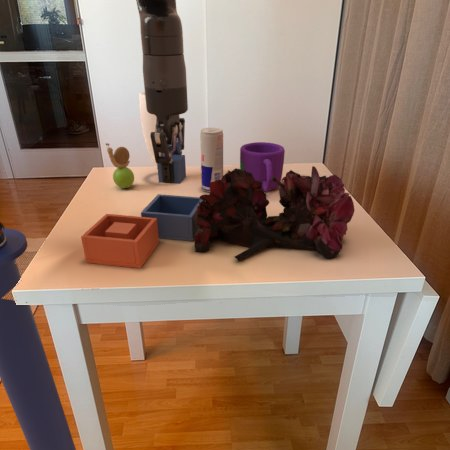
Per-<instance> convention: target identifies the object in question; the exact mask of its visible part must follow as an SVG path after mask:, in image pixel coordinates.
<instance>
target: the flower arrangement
mask: <svg viewBox="0 0 450 450" xmlns="http://www.w3.org/2000/svg"><path fill="white" fill-rule="evenodd" d="M311 166H312V167H311V176H310V175H302V174H300V173H298V172H295V171H293V170H292V169H290V170H289V171H287V172H286V173H285V176H284V177H282V178H281V181H280V180H279V179H278V178H276V177H272V181H273V182H276V183H277V185H278V195H279V200H278V202H279V204H280V205H281V206H282V207H283V209H282V212H279V214H278V215H271V216H270V215H269V216H268V212H267V211H268V210H267V206H269V205H270V201H269V199H268V198H267V194H266V192H265V191H263V190H261V187H262V182H261V181H259V180H258V181H255V179H254V177H253V175H252V173H249V172H246V171H245V170H242V169H240V168H237V167H235V168H234V169H232V170H227V173H225V174H223V177H222V179H221V180H216V181H214V182H210V183H209V187H210V192H209V194H207V193H206V194H201V195H200V196H199V197H200V199H201V200H203V201H202V202H199V201H198V202H199V206H198V207H197V218H196V219H195V220H194V221H195V223H196V224H197V226H200V227H199V228H200V230H199V231H200V232H198V233H197V235H195V239H194V251H195V252H196V253H206V252H208V251H209V250H210V243H211V242H214V241H218V240H219V241H223V242H226V243H227V244H229V245H235V246H240V247H245V248H248V249H246V250H244V251H242V252H240V253H238V254H237V255H235V256H234V259H236V260H237V262H240V261H242V260H243V259H245V258H247V257H249V256H250V255H253V254H254V253H257V252H259V251H261V250H262V249H265V248H283V249H293V250H306V251H315V252H316V253H317V254H321V256H322V257H323V258H325V259H326V260H330V259H335V258H337V256H338V255H339V254H340V253H341V251H342V249H343V244H342V241H343V240H344V237H345V236H346V234H347V231H348V224H349V223H350V222H351V221H352V219H353V216H354V215H355V211H356V210H355V204H354V200H353V198H352V196H351V195H350V192H345V191H346V188H345V183H343V181H342V178H341V177H339V176H338V175H337V174H332V175H329V176H327V175H322V176H320V174H319V170H318V169H317V167H316V166H315V165H314V166H313V165H311Z"/></svg>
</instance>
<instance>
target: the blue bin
mask: <svg viewBox="0 0 450 450" xmlns="http://www.w3.org/2000/svg"><path fill="white" fill-rule="evenodd" d="M198 201H199V202H202V201H203V200H201V199H200V196H187V195H173V194H162V193H160V194H159V193H157V194H156V195H155V197H154V198H153V199H151V201H150V202H149V203H148V204H147V205H146V207H144V208H143V210H142V211H141V212H140V217H149V218H157V224H158V235H159V239H165V240H174V241H175V240H176V241H185V242H186V241H187V242H194V241H195V235H197V234H198V233H200V232H199V231H201V230H200V228H199V227H200V226H197V224H196V223H195V221H194V220H195V219H196V218H197V207H198V206H199V202H198Z"/></svg>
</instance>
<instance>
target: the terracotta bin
mask: <svg viewBox="0 0 450 450" xmlns="http://www.w3.org/2000/svg"><path fill="white" fill-rule="evenodd" d="M114 222H120V223H131V224H136V226H137V234H138V236H137V238H136V239H135V240H131V239H121V238H110V237H106V234H105V231H106V230H107V229H108V228H109V227H110V226H111V225H112V224H113V223H114ZM80 239H81V243H82V248H83V253H84V258H85V262H86V263H87V264H95V265H96V264H97V265H105V266H106V265H107V266H115V267H116V266H117V267H126V268H132V269H133V268H135V269H141V268H142V267H143V265H144V264H145V263H146V261H147V260H148V259H149V257H150V256H151V254H152V253H153V252H154V251H155V249H156V248H157V247H158V245H159V244H160V238H159V235H158V224H157V218H149V217H141V216H139V215H138V216H137V215H136V216H135V215H124V214H114V213H106V214H104V215H103V216H102V217H101V218H100V219H99V220H97V222H96V223H94V224H93V225H92V226H91V227H90V228H89V229H87V231H86V232H84V233H83V234H82V235H81V237H80Z"/></svg>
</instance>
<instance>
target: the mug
mask: <svg viewBox="0 0 450 450" xmlns="http://www.w3.org/2000/svg"><path fill="white" fill-rule="evenodd" d="M285 153H286V150H285V147H284V146H282V145H281V144H278V143H273V142H265V141H263V142H262V141H256V142H248V143H245V144H243V145H241V147H240V149H239V169H242V170H245V171H246V172H249V173H252V175H253V177H254V179H255V181H258V180H259V181H261V182H262V187H261V190H263V191H264V192H265V193H269V192H270V191H272V190H275V189H276V188H279V186H278V185H277V183H276V182H273V181H272V177H276V178H278V179H279V180H280V182H282V178H283V177H282V176H283V171H284V163H285Z"/></svg>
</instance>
